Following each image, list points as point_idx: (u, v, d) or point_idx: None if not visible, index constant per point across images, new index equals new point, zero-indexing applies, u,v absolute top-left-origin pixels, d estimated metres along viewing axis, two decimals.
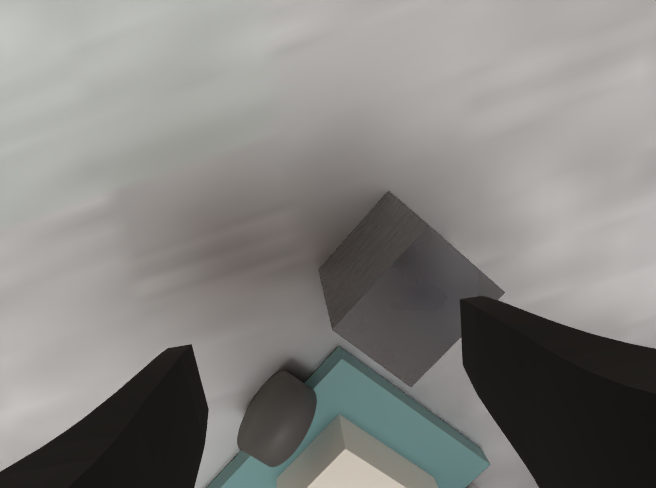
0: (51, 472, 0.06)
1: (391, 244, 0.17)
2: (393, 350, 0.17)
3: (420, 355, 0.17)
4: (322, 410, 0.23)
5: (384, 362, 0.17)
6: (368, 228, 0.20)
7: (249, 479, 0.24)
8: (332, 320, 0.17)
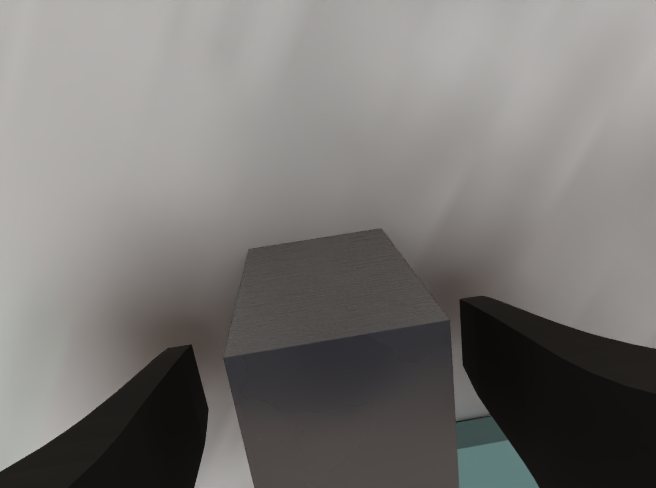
0: (51, 473, 0.06)
1: None
2: None
3: None
4: None
5: None
6: None
7: None
8: None
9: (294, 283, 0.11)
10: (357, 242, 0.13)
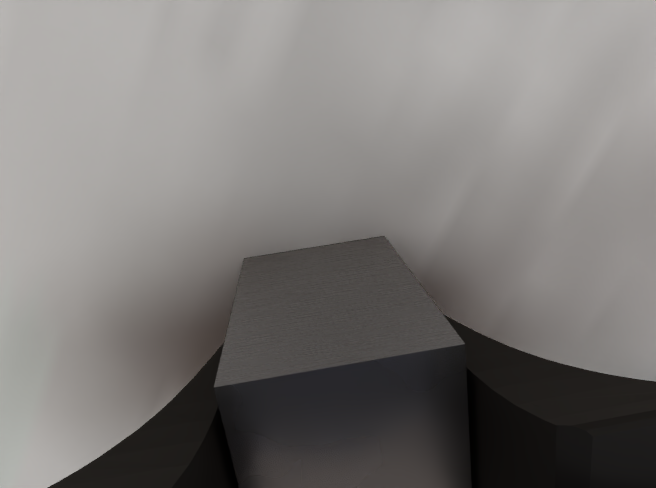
0: (161, 453, 0.06)
1: None
2: None
3: None
4: None
5: None
6: None
7: None
8: None
9: (293, 298, 0.10)
10: (359, 252, 0.12)
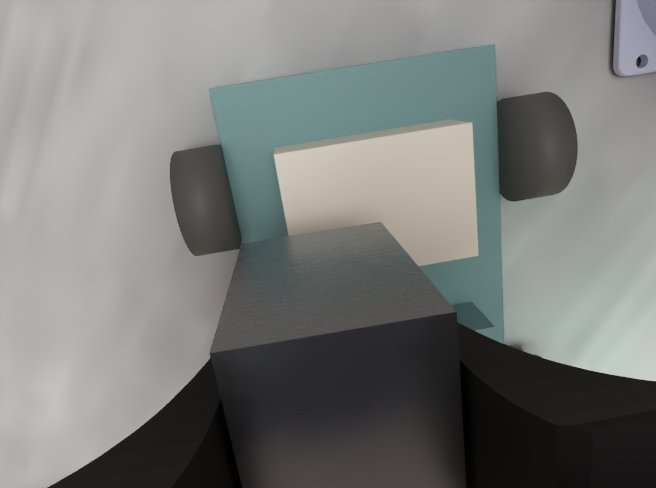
0: (160, 453, 0.06)
1: None
2: None
3: None
4: (255, 159, 0.18)
5: None
6: None
7: None
8: None
9: (289, 276, 0.10)
10: (355, 236, 0.12)
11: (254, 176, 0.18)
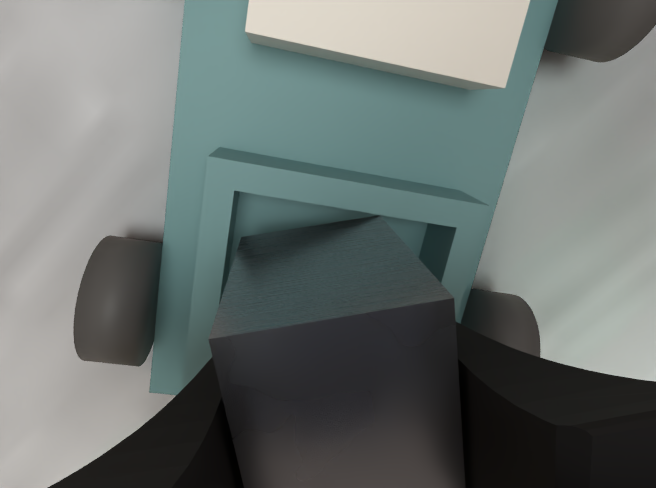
0: (161, 453, 0.06)
1: None
2: None
3: None
4: None
5: None
6: None
7: (209, 64, 0.14)
8: None
9: (288, 266, 0.10)
10: (354, 228, 0.12)
11: None
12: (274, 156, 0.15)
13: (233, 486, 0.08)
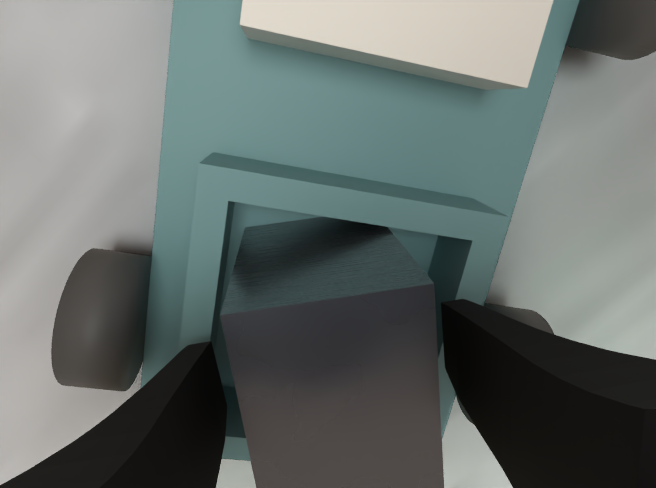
0: (88, 466, 0.06)
1: None
2: (369, 477, 0.10)
3: (411, 451, 0.10)
4: None
5: None
6: None
7: (201, 62, 0.12)
8: None
9: (288, 255, 0.11)
10: (349, 221, 0.13)
11: None
12: (272, 162, 0.13)
13: None
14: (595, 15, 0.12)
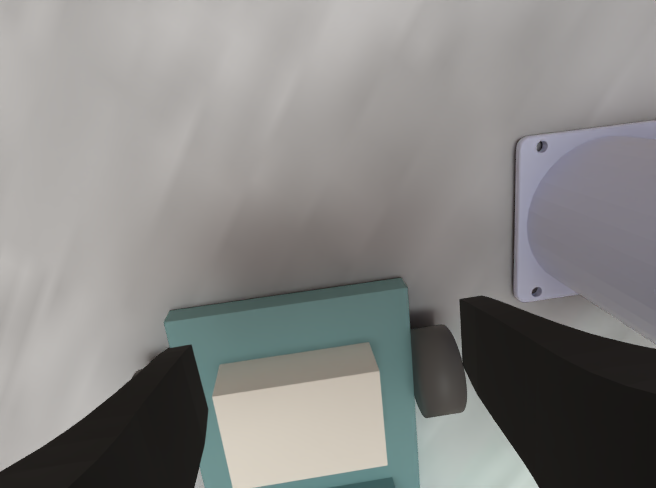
0: (51, 473, 0.06)
1: None
2: None
3: None
4: (203, 373, 0.21)
5: None
6: None
7: (218, 469, 0.23)
8: None
9: None
10: None
11: None
12: None
13: None
14: (419, 397, 0.21)
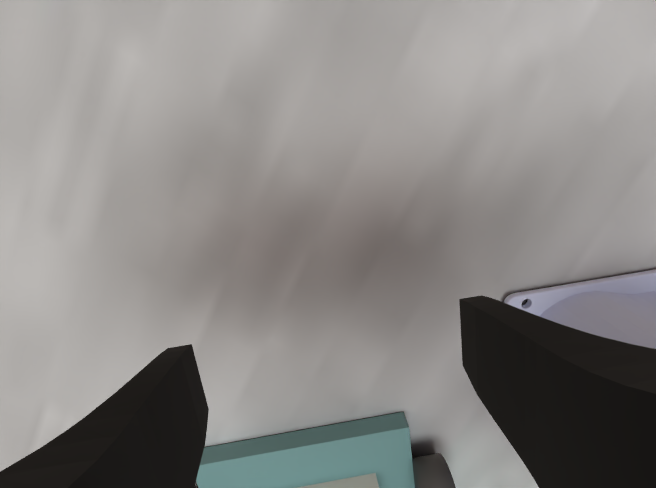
0: (51, 473, 0.06)
1: None
2: None
3: None
4: None
5: None
6: None
7: None
8: None
9: None
10: None
11: None
12: None
13: None
14: None
